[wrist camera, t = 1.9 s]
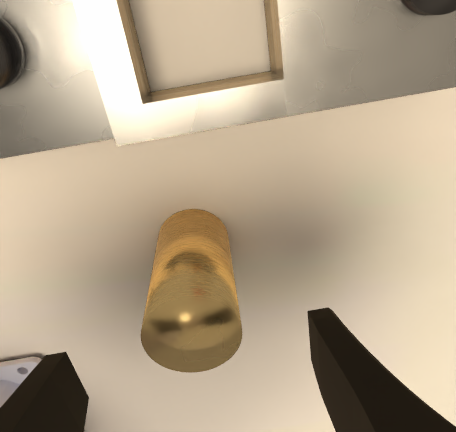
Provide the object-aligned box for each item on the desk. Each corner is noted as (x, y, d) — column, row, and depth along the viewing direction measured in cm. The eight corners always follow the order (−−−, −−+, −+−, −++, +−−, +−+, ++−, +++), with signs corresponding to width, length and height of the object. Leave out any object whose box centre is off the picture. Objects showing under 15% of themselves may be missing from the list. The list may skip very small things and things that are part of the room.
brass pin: (167, 274, 18) (155, 379, 13) (150, 216, 17) (128, 306, 11) (233, 262, 18) (248, 363, 13) (222, 203, 17) (234, 288, 11)
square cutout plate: (-10, 153, 15) (-55, 181, 12) (-111, -64, 12) (-203, -90, 9) (443, 73, 15) (498, 84, 12) (468, -168, 11) (550, -226, 9)
